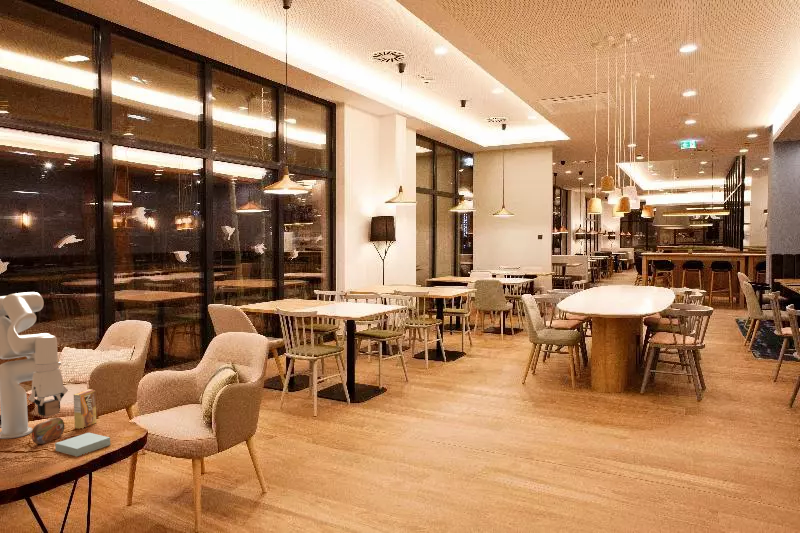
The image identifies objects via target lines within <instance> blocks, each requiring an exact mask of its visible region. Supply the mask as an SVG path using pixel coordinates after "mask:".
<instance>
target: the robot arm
mask: <svg viewBox="0 0 800 533" xmlns="http://www.w3.org/2000/svg"><path fill="white" fill-rule="evenodd" d="M44 303H45V302H44V299H43V296H42V295H41V294H40V293H39V292H35V291H27V292H18V293H17V292H15V293H10V294H8V295H0V359H1V360H11V359H17V358H23V357H26V359H18V360H12V361H6V362H3V363H1V364H0V420H1V421H0V429H1V431H0V439H3V440H4V439H5V440H7V439H16V438H21V437H24V436H27V435H29V434H32V430H33V427H30V426H29V422H28V421H29V419H28V418H29V417H28V400H29V401H30V402H32V403H34V404H35V405H36V406H37V413H38V415H39V416H43V417H45V416H44V415H45V406H44V405H43V403H44V401H45V398H48V397H53V399H54V400H58V401H59V412H60V411H61V401H62V399H63V397H64V396H65V395H66V393H68V391H69V390H68V389H67V387H66V386H64V382H63V381H64V380H63V375H62V372H61V368H59V366H61V365H62V362H61V361H59V360H58V359H59V356H58V338H57V337H56V335H52V334H51V333H47V332H43V333H33V334H31V333H30V334H20V333H22V332H24V331H27V330H28V329H29V328H31V327H33V325H34V324H35V323H36V322H37V315H36V312H37V313H38V312H40V311H41V310H43V308H44ZM30 381H31V394H30V395H29V397H28V396H27V391H26V390H25V388H24V387H23V386H21V384H20V383H25V382H30ZM27 397H28V398H27Z"/></svg>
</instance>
